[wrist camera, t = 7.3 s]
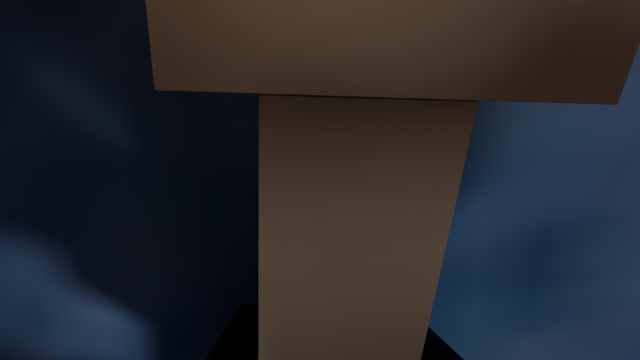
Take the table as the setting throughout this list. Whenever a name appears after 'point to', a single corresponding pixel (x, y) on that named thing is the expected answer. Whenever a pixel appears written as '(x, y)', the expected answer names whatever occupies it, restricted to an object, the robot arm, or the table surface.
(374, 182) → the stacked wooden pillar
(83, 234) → the table surface
